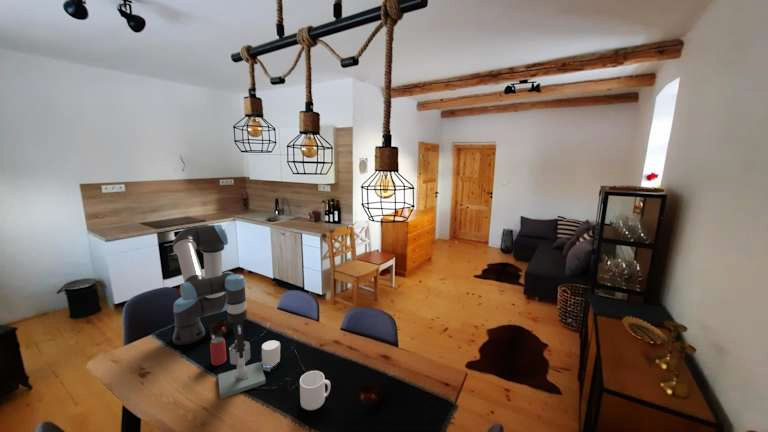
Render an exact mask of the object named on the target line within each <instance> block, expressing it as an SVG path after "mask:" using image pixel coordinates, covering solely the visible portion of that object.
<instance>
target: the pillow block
mask: <svg viewBox="0 0 768 432" xmlns="http://www.w3.org/2000/svg"><path fill="white" fill-rule="evenodd" d="M217 376H218V377H217V378H218V388H219V397H220V400H221V399H224V398H227V397H228V398H229V397H230V396H233V395H236V394H239V393H242V392H244V391H248V390H251V389H254V388H257V387H260V386H262V385H265V384H267V383H266V382H267V381H266V379H267V378H266V376H265V373H264V371H263V366H262V362H261V361H259V362H258V361H257V362H256V363H255V362H254V363H251V364H248V365H246V363H244V364H241V365H236V369H232V370H228V371H225V372H221V373H219V374H217Z"/></svg>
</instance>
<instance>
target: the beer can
mask: <svg viewBox="0 0 768 432" xmlns="http://www.w3.org/2000/svg"><path fill="white" fill-rule="evenodd" d="M226 347H227V346H226V340H225V338H224V337H223V336H216V337H214V338H212V339H210V344H209V349H210V363H211V365H212V366H221V365H223V364H224V363H225V362H227V350H226V349H227V348H226Z"/></svg>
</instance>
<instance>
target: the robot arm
mask: <svg viewBox="0 0 768 432" xmlns="http://www.w3.org/2000/svg"><path fill="white" fill-rule="evenodd" d="M226 231H227V230H226V229H225V226H224V225H222V224H210V225H199V226H191V227H187V228H185V229H183V230H181V231H180V232H179V233H178V234H177V235H176V236H175V237H174V240H173V242H172V249H173V253H175V254H176V255H177V259H178V263H179V267H180V271H181V274H182V279H183V283H181V284H180V287H179V288H180V290H179V291H180V295H181V297H179V298H178V299H177V300H175V301H174V302H173V311H172V312H173V315H174V325H175V326H174V327H175V328H174V332H173V335H172V343H174V344H175V345H178V346H183V345H184V346H185V345H190V344H193V343H196V342H198V341H200V340H201V339H203V338H204V336H205V335H206V330H205V328H204V325H203V323H202V322H201V318H203V317H207V316H211V315H214V314H219V313H222V312H225V311H227V313H226V314H227V321H228V322H229V323H232V328H233V333H234V334H233V336H234V343H236V342H237V351H236V352H237V357H238V365H241V364H244V363H245V355H244V351H245V349H244V341H245V340H244V339H245V338H244V323H243V321H245V320H246V319H247V317H248V315H247V314H248V313H247V298H246V281H245V276H243V274H240V273H236V274H235V273H234V272H232V271H224V272H223V260H222V252H223V251H224V250H225V246H227V245H228V243H229V239H228V234H227V232H226ZM198 249H199V251H200V252H201V253H202V254H203V268H204V271H203V269H202V267H201V263H200V260H199V257H198V254H197V251H196V250H198ZM203 272H204V273H203ZM245 364H246V363H245Z"/></svg>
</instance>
